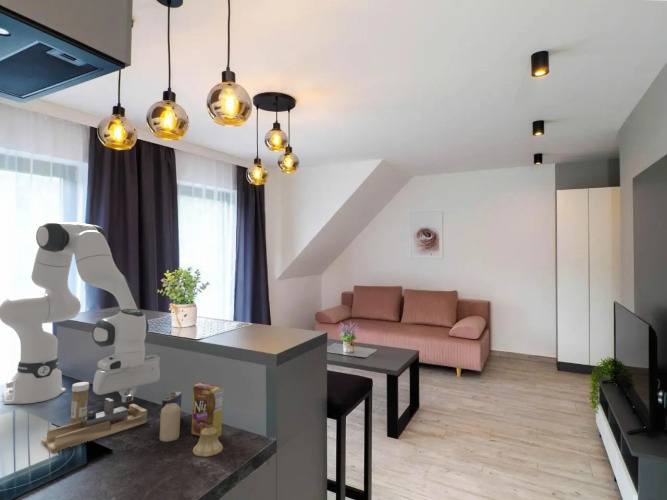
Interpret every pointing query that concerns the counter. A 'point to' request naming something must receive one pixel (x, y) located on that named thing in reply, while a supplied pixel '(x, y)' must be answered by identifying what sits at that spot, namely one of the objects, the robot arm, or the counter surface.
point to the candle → (170, 422)
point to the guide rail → (91, 430)
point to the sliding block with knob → (105, 415)
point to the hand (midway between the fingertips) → (127, 401)
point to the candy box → (199, 407)
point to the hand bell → (208, 433)
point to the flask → (173, 399)
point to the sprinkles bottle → (79, 401)
